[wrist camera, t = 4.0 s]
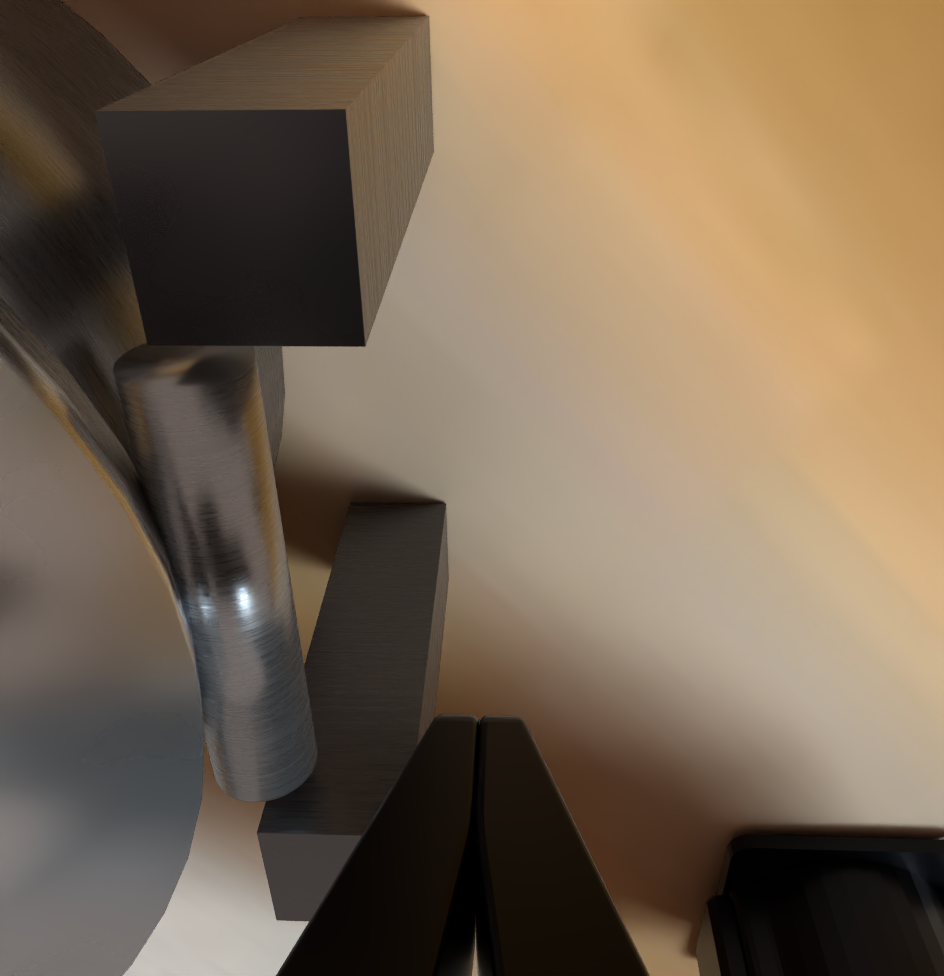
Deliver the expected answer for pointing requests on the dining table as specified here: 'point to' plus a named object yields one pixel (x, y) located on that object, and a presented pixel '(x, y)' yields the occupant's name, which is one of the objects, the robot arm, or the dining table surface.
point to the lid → (133, 640)
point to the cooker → (245, 315)
